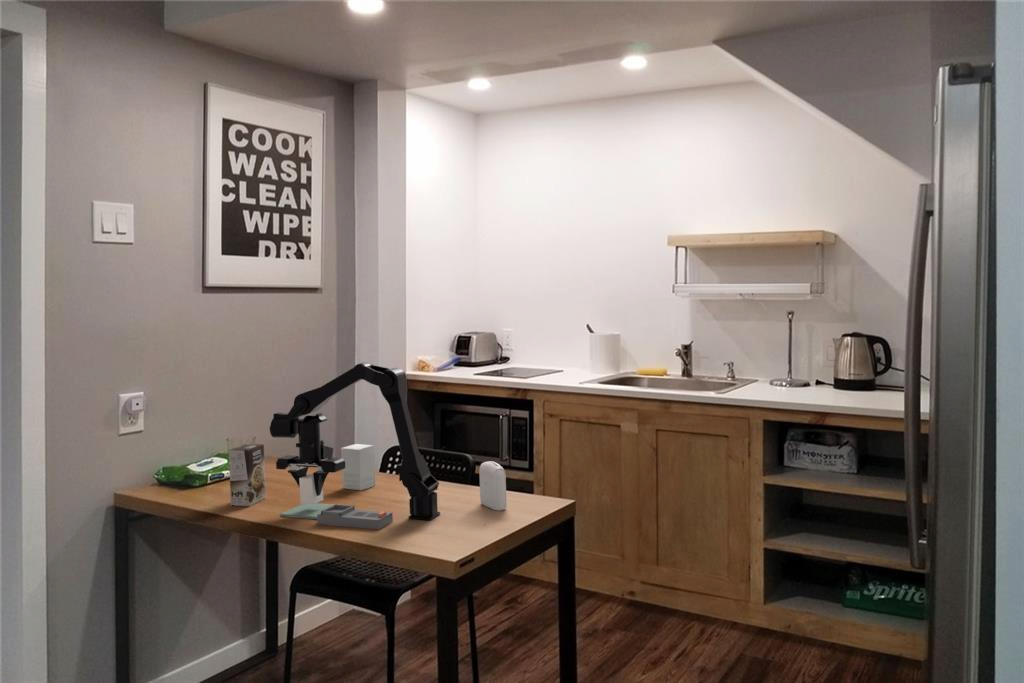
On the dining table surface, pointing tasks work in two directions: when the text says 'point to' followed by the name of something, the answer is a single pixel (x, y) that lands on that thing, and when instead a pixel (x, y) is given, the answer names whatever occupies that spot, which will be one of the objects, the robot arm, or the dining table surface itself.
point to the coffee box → (247, 474)
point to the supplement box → (358, 467)
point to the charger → (309, 490)
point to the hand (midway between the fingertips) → (311, 494)
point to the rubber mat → (306, 511)
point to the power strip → (354, 517)
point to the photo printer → (492, 485)
